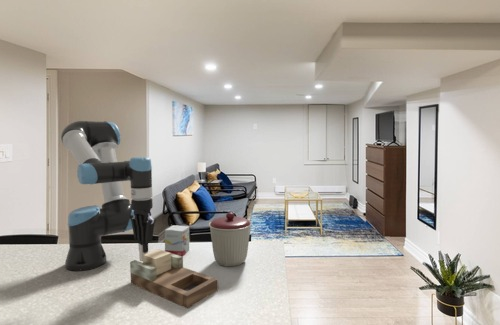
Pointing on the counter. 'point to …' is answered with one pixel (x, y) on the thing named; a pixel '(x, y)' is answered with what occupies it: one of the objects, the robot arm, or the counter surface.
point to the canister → (230, 239)
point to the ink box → (177, 240)
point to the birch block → (158, 260)
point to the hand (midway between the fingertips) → (143, 259)
